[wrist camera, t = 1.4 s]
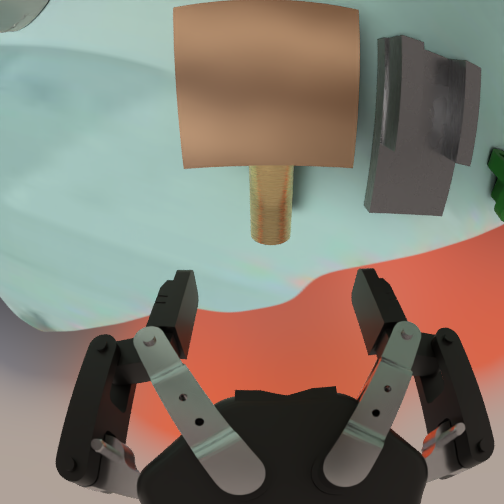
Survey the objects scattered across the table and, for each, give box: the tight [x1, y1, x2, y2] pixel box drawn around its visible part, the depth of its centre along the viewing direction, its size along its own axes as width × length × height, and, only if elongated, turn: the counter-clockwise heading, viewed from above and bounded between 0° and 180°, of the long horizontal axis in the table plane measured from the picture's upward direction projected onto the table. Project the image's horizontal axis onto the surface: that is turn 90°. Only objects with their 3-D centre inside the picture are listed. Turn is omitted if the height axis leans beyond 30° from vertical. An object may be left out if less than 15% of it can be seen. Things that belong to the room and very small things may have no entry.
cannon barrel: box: [249, 165, 294, 245], centre depth 18 cm, size 16×3×3 cm, turn 1°
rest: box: [364, 35, 481, 216], centre depth 18 cm, size 16×9×4 cm, turn 1°
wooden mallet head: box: [173, 0, 360, 169], centre depth 15 cm, size 10×10×8 cm
